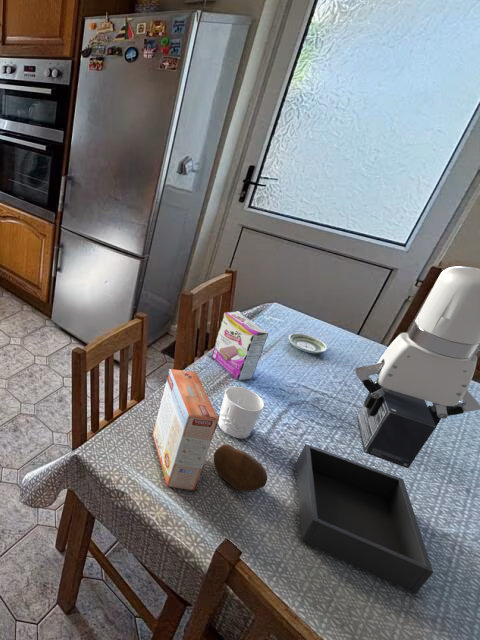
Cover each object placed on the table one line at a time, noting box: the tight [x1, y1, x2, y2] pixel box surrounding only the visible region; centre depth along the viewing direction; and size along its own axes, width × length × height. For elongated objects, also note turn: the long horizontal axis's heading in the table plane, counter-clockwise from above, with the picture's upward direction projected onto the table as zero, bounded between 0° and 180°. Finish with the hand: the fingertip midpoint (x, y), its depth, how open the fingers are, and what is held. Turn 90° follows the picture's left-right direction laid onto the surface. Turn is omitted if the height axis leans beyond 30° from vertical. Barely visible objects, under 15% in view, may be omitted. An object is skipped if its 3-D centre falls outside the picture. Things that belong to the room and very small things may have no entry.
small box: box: [356, 377, 437, 469], centre depth 76 cm, size 11×6×10 cm, turn 146°
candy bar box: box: [211, 310, 269, 381], centre depth 118 cm, size 11×5×16 cm, turn 9°
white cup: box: [217, 385, 265, 439], centre depth 99 cm, size 8×8×10 cm
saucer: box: [288, 332, 328, 354], centre depth 128 cm, size 10×10×2 cm
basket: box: [295, 443, 434, 595], centre depth 79 cm, size 16×20×7 cm
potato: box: [213, 443, 268, 492], centre depth 87 cm, size 7×10×8 cm
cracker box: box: [152, 368, 219, 491], centre depth 89 cm, size 14×6×21 cm, turn 170°
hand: (395, 418), depth 75 cm, fingers closed on small box, 6 cm apart
